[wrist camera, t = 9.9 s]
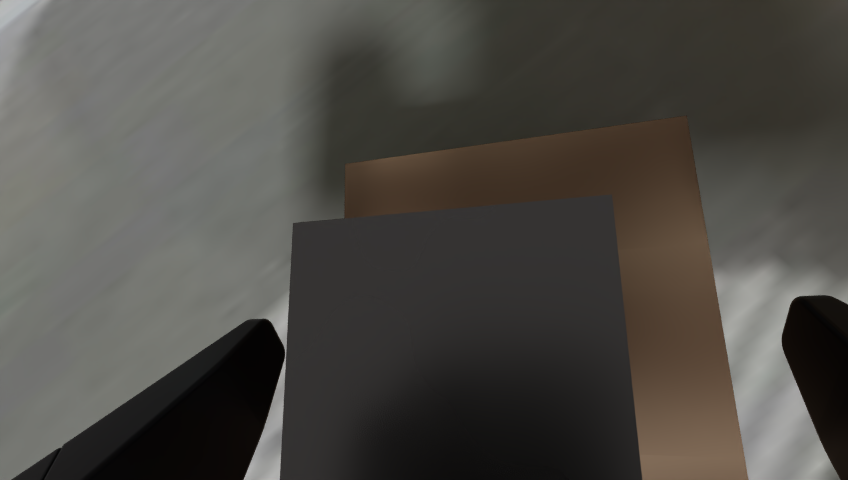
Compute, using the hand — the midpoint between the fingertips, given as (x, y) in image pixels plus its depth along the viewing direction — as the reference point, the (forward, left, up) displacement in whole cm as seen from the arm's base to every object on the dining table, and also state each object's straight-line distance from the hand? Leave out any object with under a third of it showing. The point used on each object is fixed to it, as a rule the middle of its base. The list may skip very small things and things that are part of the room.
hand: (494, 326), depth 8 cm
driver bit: (-1, 0, -8) cm, 8 cm away
